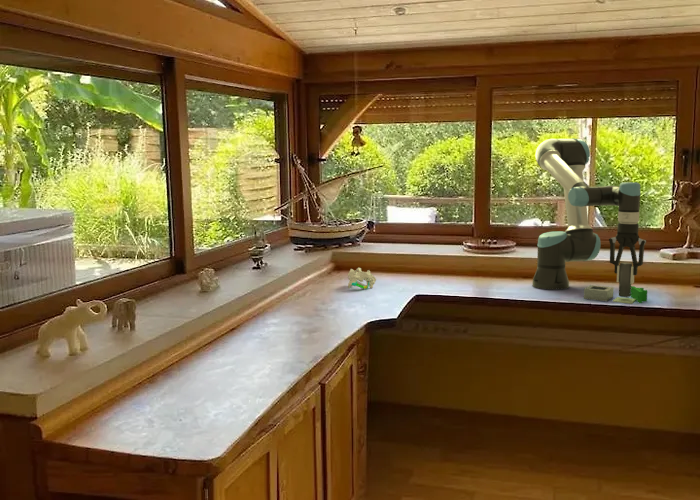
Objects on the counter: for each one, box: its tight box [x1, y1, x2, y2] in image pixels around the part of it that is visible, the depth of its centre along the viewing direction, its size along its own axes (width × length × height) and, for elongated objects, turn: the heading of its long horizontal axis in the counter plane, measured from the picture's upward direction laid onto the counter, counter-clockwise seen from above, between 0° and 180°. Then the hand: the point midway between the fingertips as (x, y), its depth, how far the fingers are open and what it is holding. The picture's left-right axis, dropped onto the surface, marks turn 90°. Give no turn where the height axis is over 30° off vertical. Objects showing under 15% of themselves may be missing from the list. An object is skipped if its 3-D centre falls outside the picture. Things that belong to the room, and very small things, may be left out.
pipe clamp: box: [630, 285, 648, 304], centre depth 277 cm, size 11×4×5 cm, turn 174°
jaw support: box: [347, 267, 377, 290], centre depth 303 cm, size 12×9×10 cm
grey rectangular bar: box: [618, 262, 633, 298], centre depth 274 cm, size 4×4×13 cm
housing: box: [583, 284, 614, 302], centre depth 281 cm, size 9×9×4 cm
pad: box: [612, 296, 637, 305], centre depth 275 cm, size 7×7×1 cm
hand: (625, 282), depth 274 cm, fingers closed on grey rectangular bar, 4 cm apart
